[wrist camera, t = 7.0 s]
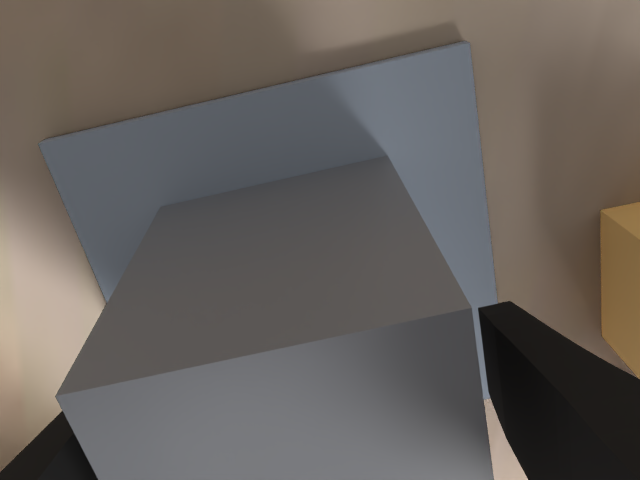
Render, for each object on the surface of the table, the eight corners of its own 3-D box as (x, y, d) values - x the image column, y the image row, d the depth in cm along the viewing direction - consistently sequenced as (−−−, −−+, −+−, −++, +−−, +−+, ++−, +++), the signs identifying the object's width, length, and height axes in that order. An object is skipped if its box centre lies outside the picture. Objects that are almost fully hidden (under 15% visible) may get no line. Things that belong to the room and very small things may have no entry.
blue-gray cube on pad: (387, 155, 14) (471, 307, 8) (421, 346, 16) (507, 588, 10) (160, 206, 14) (55, 395, 8) (225, 388, 16) (185, 649, 10)
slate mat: (464, 40, 13) (470, 42, 13) (502, 385, 17) (507, 394, 17) (44, 139, 14) (37, 143, 13) (178, 453, 18) (176, 462, 17)
